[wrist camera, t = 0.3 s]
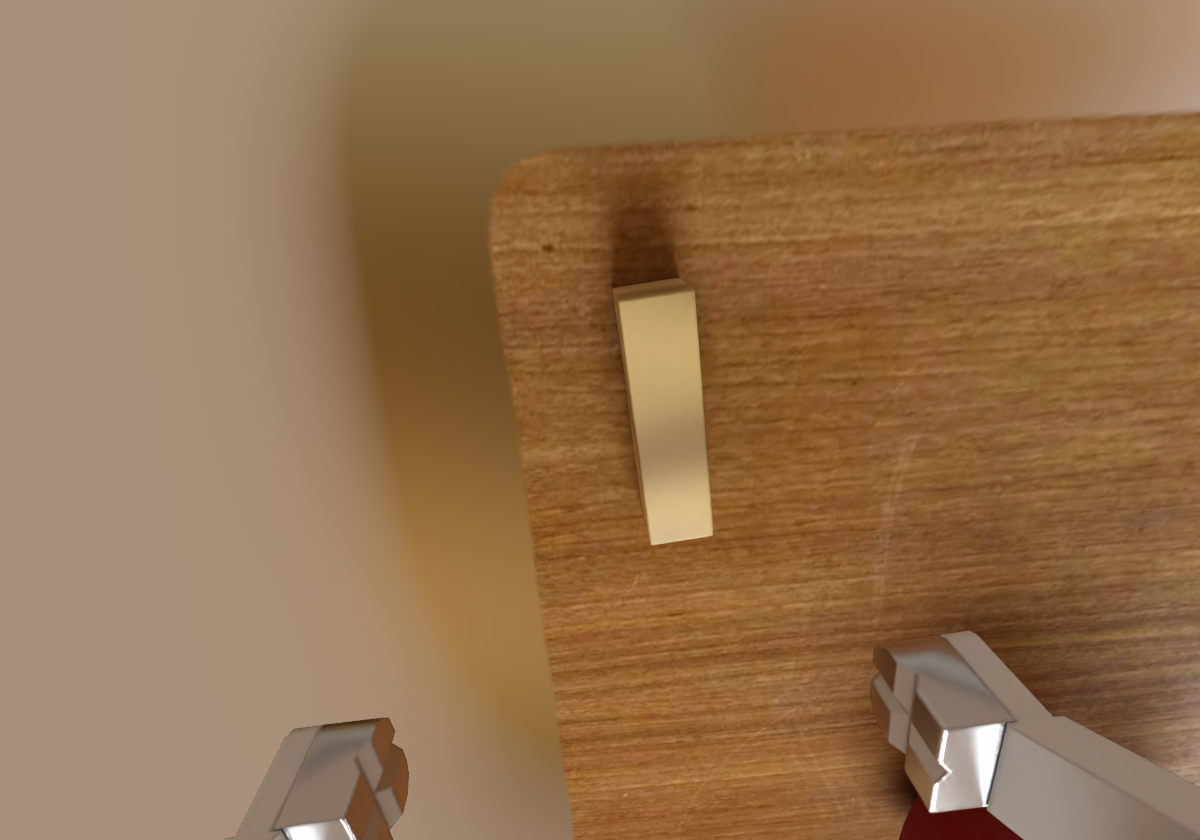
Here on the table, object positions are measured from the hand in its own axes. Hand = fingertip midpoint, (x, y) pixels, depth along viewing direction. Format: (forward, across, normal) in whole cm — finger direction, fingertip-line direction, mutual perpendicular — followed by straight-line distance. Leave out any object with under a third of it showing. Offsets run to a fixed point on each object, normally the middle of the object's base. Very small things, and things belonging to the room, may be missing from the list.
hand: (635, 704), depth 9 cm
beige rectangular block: (+14, -3, +1) cm, 15 cm away
